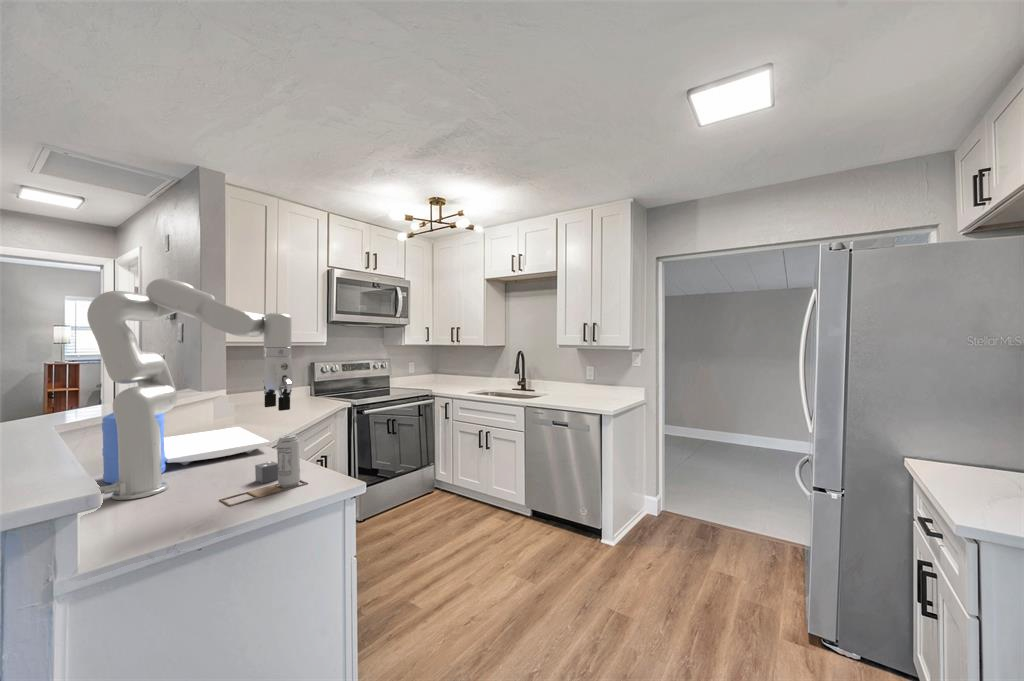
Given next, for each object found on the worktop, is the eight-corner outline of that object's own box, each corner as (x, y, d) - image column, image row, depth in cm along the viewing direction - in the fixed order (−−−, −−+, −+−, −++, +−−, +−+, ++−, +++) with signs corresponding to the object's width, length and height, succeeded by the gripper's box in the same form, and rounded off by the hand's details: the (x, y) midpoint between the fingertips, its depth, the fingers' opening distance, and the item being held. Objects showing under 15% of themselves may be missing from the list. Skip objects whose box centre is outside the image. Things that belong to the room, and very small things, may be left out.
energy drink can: (304, 482, 131) (303, 434, 131) (287, 489, 126) (286, 439, 126) (290, 480, 134) (289, 433, 134) (273, 487, 128) (272, 437, 128)
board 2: (229, 506, 113) (229, 505, 113) (219, 500, 118) (219, 499, 118) (308, 483, 130) (308, 482, 130) (296, 479, 135) (296, 478, 135)
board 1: (150, 450, 177) (150, 439, 177) (238, 436, 200) (238, 426, 200) (167, 472, 146) (167, 459, 146) (270, 453, 169) (269, 441, 169)
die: (262, 483, 131) (262, 467, 131) (255, 480, 134) (255, 464, 134) (279, 479, 135) (278, 463, 135) (272, 476, 138) (271, 460, 138)
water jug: (147, 482, 135) (145, 395, 135) (89, 486, 132) (87, 397, 132) (175, 467, 150) (173, 389, 150) (124, 471, 147) (122, 391, 147)
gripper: (303, 353, 128) (302, 409, 128) (277, 352, 139) (277, 404, 139) (277, 354, 122) (276, 413, 122) (252, 352, 133) (252, 406, 133)
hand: (277, 408), depth 131 cm, fingers open, 9 cm apart
